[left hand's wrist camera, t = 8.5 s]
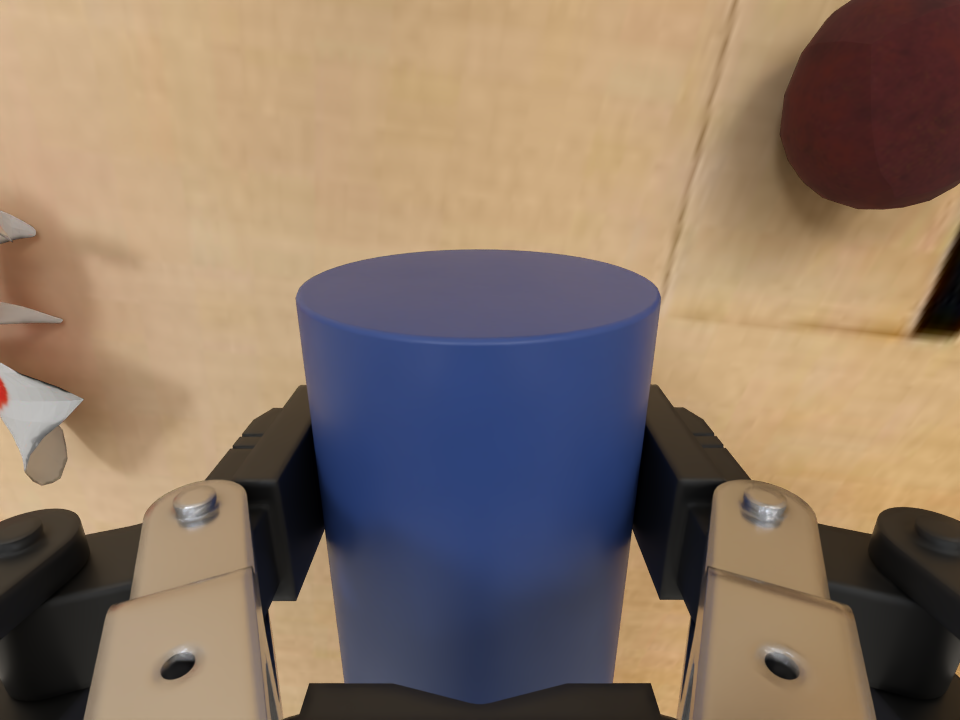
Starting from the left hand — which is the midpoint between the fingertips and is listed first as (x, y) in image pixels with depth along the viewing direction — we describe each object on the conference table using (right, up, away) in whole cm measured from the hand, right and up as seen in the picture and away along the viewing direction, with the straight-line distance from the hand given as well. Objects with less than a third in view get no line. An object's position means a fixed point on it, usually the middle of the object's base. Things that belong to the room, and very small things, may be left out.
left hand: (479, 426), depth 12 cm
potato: (+15, +12, +12) cm, 23 cm away
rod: (0, -8, +5) cm, 9 cm away
